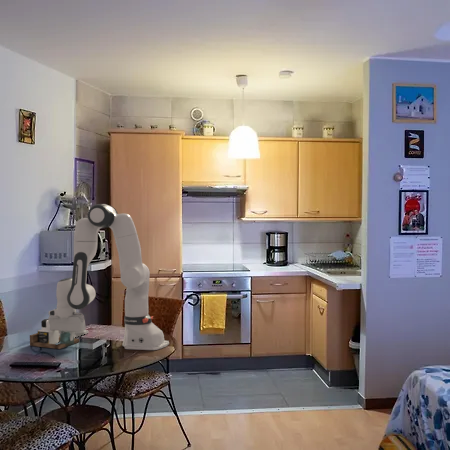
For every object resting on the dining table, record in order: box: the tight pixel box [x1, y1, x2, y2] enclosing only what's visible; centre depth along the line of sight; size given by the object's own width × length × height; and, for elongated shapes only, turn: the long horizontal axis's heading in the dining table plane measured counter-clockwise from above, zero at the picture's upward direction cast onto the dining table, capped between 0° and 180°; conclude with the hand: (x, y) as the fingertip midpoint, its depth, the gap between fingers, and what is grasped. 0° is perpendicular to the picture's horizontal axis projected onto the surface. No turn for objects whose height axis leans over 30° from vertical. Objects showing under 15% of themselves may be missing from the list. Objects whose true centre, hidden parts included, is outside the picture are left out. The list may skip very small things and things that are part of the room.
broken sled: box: [59, 329, 89, 338], centre depth 249 cm, size 19×14×4 cm
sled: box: [29, 332, 80, 350], centre depth 232 cm, size 18×14×6 cm
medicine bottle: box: [37, 318, 60, 344], centre depth 233 cm, size 7×7×12 cm
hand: (67, 340), depth 229 cm, fingers closed on sled, 3 cm apart
